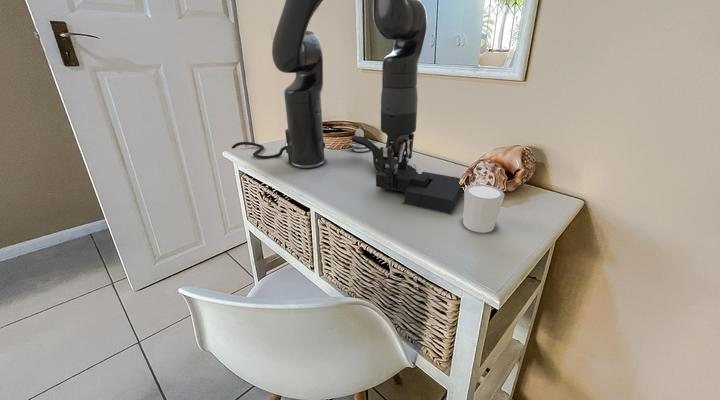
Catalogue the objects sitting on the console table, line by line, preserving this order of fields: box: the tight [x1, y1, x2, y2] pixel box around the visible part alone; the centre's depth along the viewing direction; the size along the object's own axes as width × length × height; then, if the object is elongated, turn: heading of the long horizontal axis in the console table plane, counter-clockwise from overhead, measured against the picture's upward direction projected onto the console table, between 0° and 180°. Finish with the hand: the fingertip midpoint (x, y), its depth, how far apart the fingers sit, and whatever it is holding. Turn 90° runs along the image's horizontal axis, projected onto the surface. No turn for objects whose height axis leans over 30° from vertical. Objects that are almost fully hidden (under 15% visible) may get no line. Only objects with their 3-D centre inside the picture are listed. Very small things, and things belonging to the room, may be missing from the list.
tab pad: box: [375, 167, 429, 193], centre depth 75 cm, size 11×6×3 cm, turn 62°
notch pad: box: [403, 171, 464, 214], centre depth 73 cm, size 10×12×3 cm
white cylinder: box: [462, 183, 506, 234], centre depth 61 cm, size 7×7×7 cm
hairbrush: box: [351, 135, 417, 173], centre depth 88 cm, size 8×4×25 cm
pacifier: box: [348, 128, 371, 153], centre depth 102 cm, size 7×6×6 cm
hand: (396, 183), depth 76 cm, fingers closed on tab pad, 5 cm apart
